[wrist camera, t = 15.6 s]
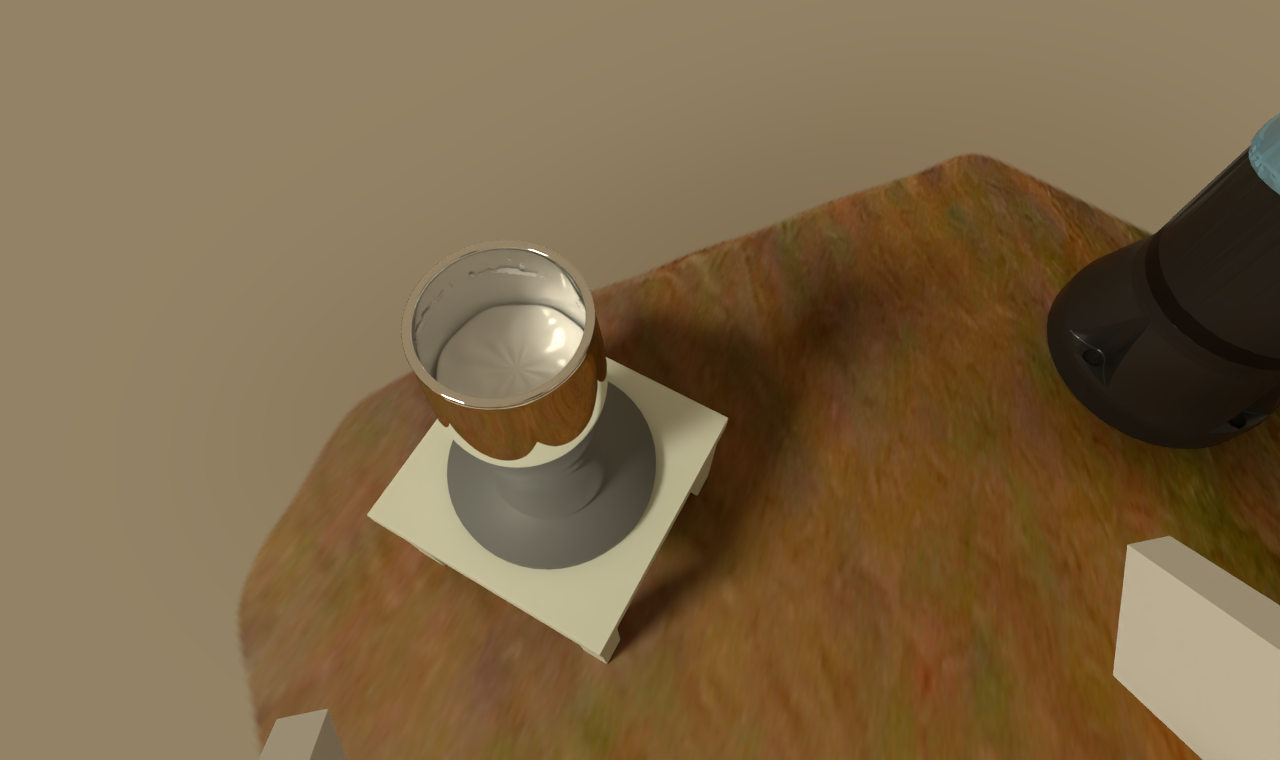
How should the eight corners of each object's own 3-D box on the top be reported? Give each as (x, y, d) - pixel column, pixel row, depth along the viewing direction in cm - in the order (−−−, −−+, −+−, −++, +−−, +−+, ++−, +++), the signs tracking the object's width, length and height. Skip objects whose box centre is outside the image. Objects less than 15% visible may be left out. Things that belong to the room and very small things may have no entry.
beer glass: (560, 379, 40) (517, 202, 26) (643, 468, 37) (644, 325, 24) (457, 457, 38) (354, 310, 24) (539, 557, 35) (474, 456, 22)
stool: (712, 474, 48) (729, 413, 39) (608, 669, 43) (598, 654, 33) (537, 384, 51) (514, 306, 42) (420, 555, 46) (362, 512, 36)
